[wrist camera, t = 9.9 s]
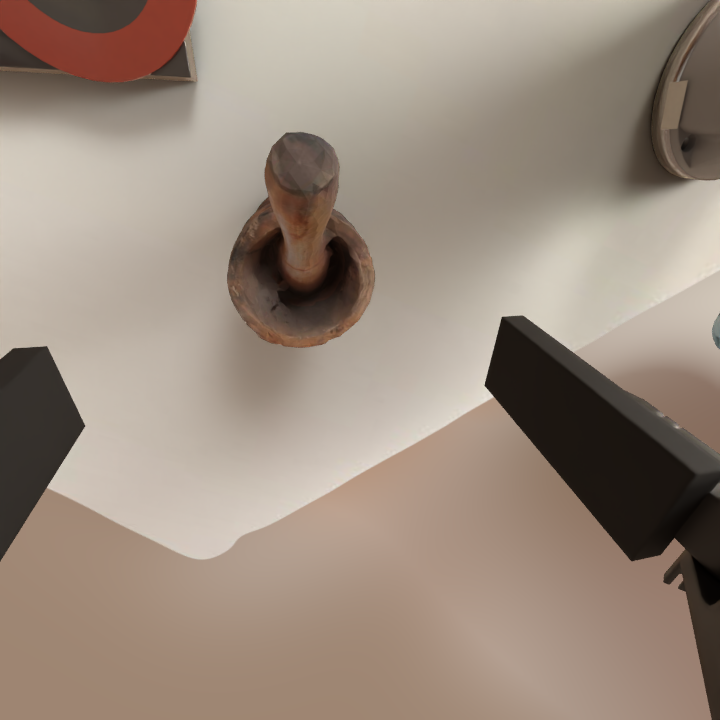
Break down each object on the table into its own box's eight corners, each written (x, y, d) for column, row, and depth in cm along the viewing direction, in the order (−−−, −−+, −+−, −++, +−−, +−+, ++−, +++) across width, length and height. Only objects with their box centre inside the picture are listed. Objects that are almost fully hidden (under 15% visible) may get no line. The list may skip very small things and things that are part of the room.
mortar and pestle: (203, 164, 29) (103, 210, 12) (305, 120, 28) (350, 106, 12) (271, 293, 35) (269, 441, 18) (355, 258, 35) (429, 375, 18)
